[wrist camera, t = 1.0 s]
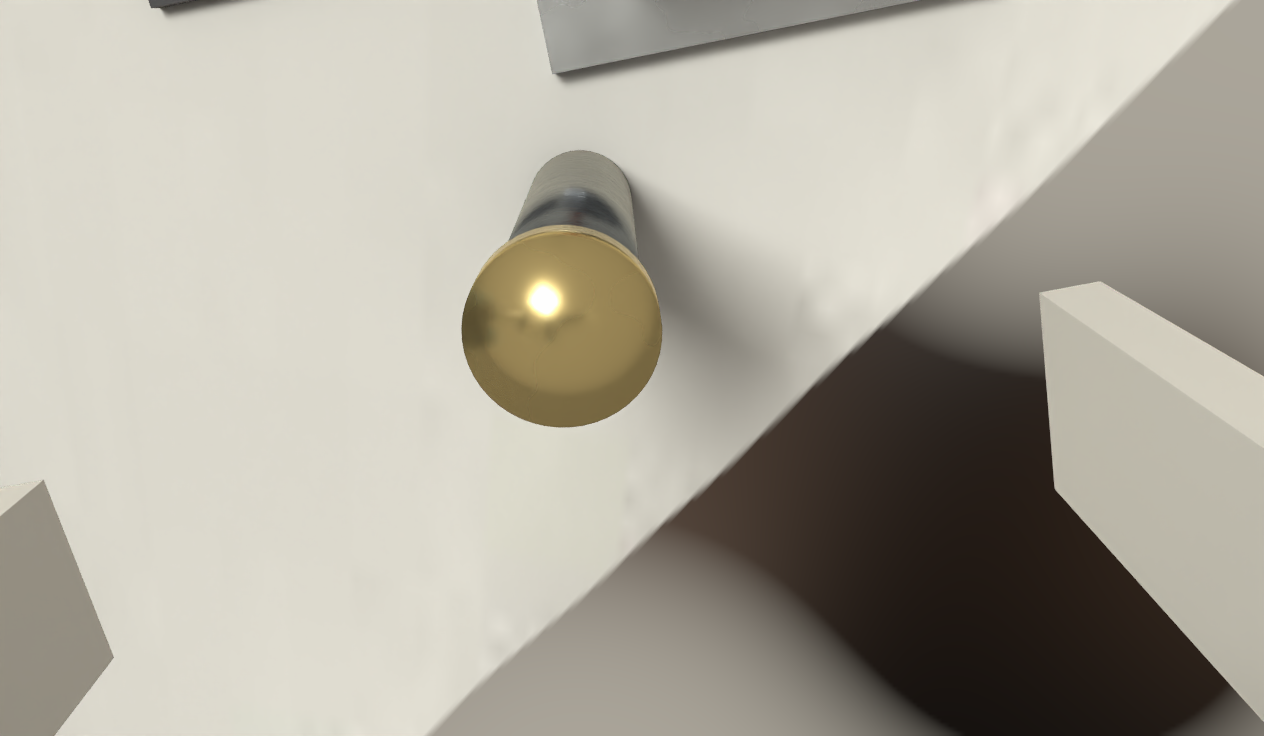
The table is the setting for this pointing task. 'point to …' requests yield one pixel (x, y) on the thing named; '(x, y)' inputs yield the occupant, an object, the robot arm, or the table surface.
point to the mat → (166, 3)
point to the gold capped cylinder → (566, 301)
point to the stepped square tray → (670, 24)
